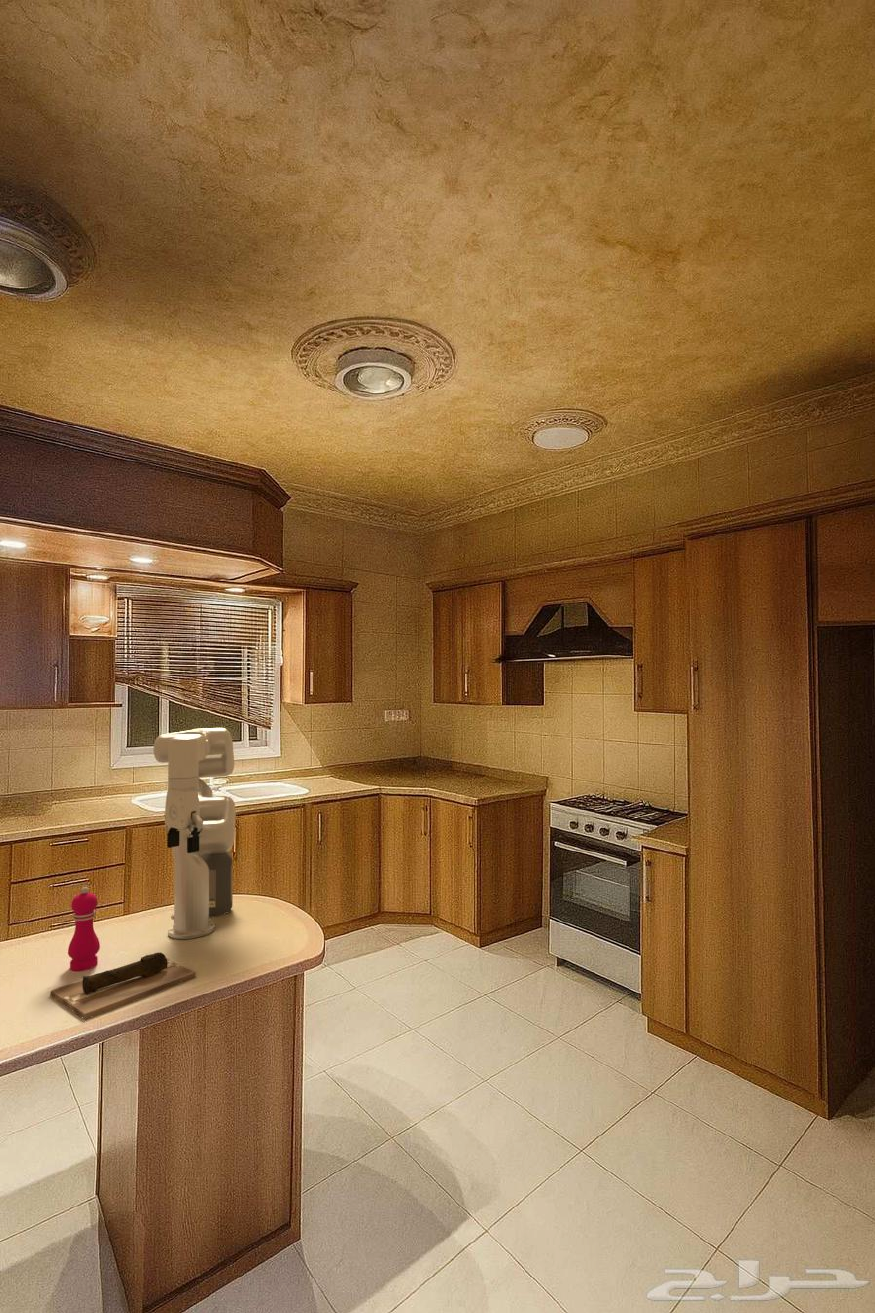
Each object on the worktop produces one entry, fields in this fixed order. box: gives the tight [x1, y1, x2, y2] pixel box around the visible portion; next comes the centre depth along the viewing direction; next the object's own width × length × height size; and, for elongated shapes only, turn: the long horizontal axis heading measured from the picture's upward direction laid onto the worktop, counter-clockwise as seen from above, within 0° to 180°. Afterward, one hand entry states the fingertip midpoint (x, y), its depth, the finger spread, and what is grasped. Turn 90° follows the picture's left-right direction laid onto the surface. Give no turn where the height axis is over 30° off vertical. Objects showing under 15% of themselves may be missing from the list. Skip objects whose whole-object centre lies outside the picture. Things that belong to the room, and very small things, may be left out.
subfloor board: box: [50, 958, 197, 1020], centre depth 157 cm, size 18×26×1 cm
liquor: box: [200, 851, 234, 918], centre depth 210 cm, size 9×9×30 cm
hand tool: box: [82, 952, 168, 994], centre depth 157 cm, size 19×4×5 cm, turn 132°
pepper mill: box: [67, 886, 101, 972], centre depth 169 cm, size 7×7×20 cm
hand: (183, 849), depth 174 cm, fingers open, 9 cm apart
